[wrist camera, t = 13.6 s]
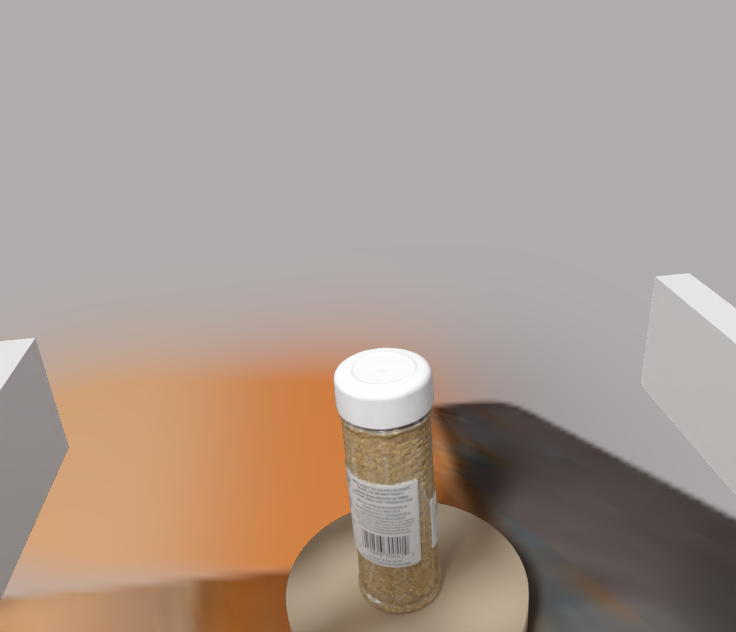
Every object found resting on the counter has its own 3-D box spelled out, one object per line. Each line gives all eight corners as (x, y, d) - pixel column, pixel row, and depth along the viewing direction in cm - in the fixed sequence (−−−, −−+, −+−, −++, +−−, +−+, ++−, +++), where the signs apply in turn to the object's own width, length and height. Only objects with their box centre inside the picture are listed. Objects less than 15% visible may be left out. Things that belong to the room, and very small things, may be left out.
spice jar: (456, 571, 38) (450, 356, 33) (414, 631, 35) (398, 404, 29) (386, 541, 41) (368, 336, 35) (340, 595, 38) (312, 378, 32)
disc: (247, 621, 40) (239, 582, 39) (410, 508, 48) (407, 472, 46) (406, 792, 31) (402, 749, 30) (576, 620, 39) (579, 579, 37)
